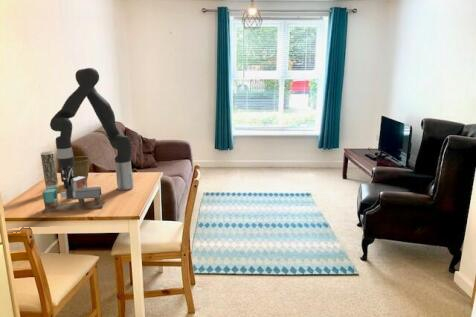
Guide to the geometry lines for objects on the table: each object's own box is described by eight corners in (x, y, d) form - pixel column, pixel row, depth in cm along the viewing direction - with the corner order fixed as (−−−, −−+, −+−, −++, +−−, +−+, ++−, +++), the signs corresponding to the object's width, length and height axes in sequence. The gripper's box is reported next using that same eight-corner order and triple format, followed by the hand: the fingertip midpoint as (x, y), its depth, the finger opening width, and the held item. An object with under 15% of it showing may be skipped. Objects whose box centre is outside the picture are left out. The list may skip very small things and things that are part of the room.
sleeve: (101, 194, 192) (100, 186, 191) (99, 197, 187) (98, 189, 186) (78, 196, 190) (77, 188, 189) (75, 199, 185) (74, 191, 184)
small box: (78, 198, 202) (76, 180, 200) (70, 197, 204) (68, 179, 202) (88, 193, 210) (86, 176, 207) (81, 192, 212) (79, 176, 209)
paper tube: (54, 195, 208) (48, 154, 202) (44, 194, 209) (37, 153, 203) (61, 191, 214) (56, 151, 208) (52, 191, 216) (46, 151, 210)
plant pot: (64, 182, 232) (61, 159, 229) (87, 177, 242) (84, 155, 238) (72, 187, 222) (69, 163, 218) (96, 182, 231) (93, 158, 228)
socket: (57, 198, 188) (56, 188, 187) (54, 202, 183) (52, 192, 182) (47, 199, 188) (46, 189, 186) (44, 202, 182) (42, 192, 181)
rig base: (105, 201, 196) (104, 192, 194) (101, 208, 186) (100, 198, 185) (49, 206, 191) (47, 196, 189) (42, 213, 181) (41, 202, 180)
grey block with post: (100, 194, 191) (98, 176, 189) (98, 196, 187) (96, 179, 185) (63, 197, 188) (60, 179, 186) (60, 199, 184) (58, 181, 182)
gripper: (69, 159, 175) (73, 190, 179) (76, 153, 189) (80, 181, 193) (52, 159, 174) (57, 191, 178) (61, 153, 188) (65, 182, 191)
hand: (69, 186), depth 185 cm, fingers open, 8 cm apart
